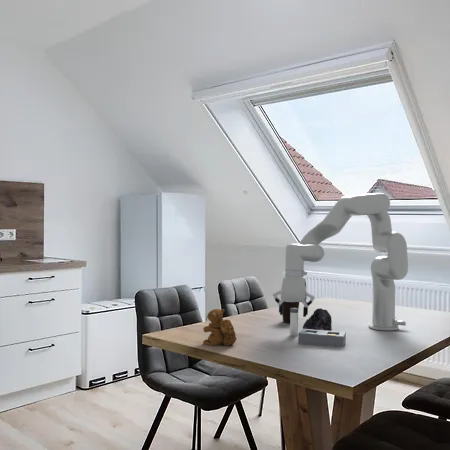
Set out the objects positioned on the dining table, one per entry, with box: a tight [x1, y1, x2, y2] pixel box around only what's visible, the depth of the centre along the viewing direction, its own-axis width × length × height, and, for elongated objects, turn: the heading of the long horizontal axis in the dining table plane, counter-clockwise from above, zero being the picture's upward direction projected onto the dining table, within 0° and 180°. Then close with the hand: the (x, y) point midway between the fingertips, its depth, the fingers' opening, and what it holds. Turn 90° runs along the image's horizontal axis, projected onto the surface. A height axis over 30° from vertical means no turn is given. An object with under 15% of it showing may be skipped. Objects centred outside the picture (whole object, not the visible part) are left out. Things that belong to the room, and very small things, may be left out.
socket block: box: [297, 328, 347, 348], centre depth 212 cm, size 17×8×4 cm, turn 71°
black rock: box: [302, 307, 333, 331], centre depth 234 cm, size 13×14×10 cm
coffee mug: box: [281, 301, 300, 324], centre depth 254 cm, size 12×9×10 cm
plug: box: [289, 308, 299, 337], centre depth 225 cm, size 3×3×11 cm
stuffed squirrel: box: [202, 308, 238, 347], centre depth 209 cm, size 10×14×13 cm
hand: (293, 315), depth 225 cm, fingers open, 9 cm apart
